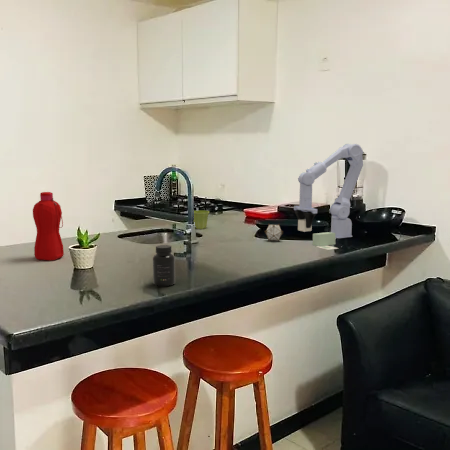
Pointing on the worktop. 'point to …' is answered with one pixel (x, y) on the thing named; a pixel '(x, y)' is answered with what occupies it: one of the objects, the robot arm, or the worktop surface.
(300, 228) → the ivory brick
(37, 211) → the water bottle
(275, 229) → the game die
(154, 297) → the worktop surface
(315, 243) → the sage brick
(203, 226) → the plant pot
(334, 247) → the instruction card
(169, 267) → the supplement bottle
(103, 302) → the worktop surface
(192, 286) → the worktop surface
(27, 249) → the worktop surface
